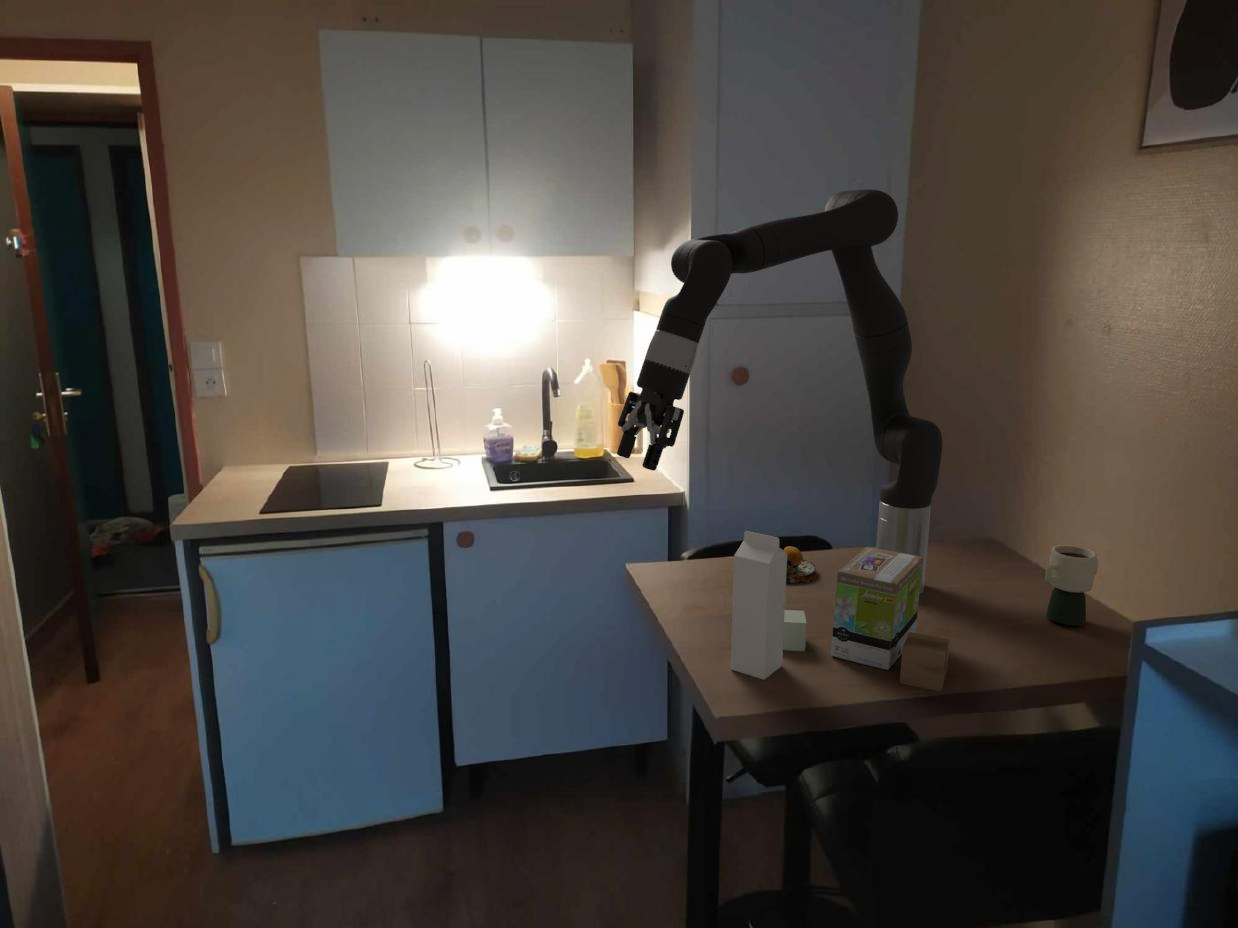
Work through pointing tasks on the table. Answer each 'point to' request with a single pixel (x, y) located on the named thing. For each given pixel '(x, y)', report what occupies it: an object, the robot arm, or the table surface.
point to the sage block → (794, 630)
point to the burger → (798, 567)
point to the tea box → (876, 606)
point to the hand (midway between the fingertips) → (635, 462)
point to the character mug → (1070, 583)
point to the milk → (758, 606)
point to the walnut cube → (924, 661)
